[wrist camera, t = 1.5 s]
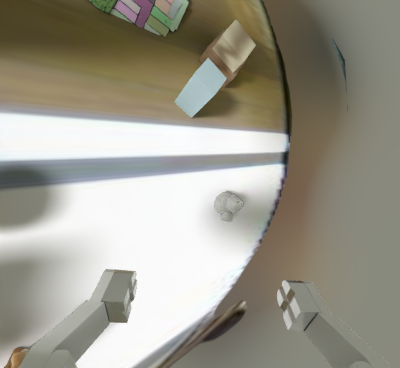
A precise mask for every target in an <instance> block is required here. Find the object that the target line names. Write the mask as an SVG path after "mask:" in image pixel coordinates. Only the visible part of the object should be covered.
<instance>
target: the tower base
mask: <svg viewBox="0 0 400 368" xmlns="http://www.w3.org/2000/svg"><path fill="white" fill-rule="evenodd" d="M255 46H256V45H255V43H254V42H253V41H252V39H251V38H250V37H249V35H248V34H247V33H246V32H245V30H244V29H243V28H242V26H241V25H240V24H239V22H238V21H237V20H235V21H234V22H233V23H232V24H231V25H230V27H229V28H228V29H227V30H225V28H224V29H223V30H222V32H221V33H220V34H219V35H218V36H217V37H216V38H215V39H214V40H213V41H212V43H211V44H210V45H209V46H208V47H207V48H206V50H205V51H204V53H203V54H202V56H201V57H200V59H199V61H200V62H201V63H202V64H203V63H204V62H205V61H206V59H207V58H209V59H210V60H211V61H212V62H213V63H214V65H215V66H216V67H217V68H218V69H219V70H220V71H221V73H222V74H223V75H224V76H225V77H226V78H227V79H226V81H225V82H224V83H223V85H222V86H223V87H224V88H225V87H226V86H227V85H228V84H229V83H230V82H231V81H232V80H233V79H234V78H235V76H236V75H237V74H238V72H239V71H240V69H241V68H242V67H243V65H244V64H245V63H246V61H247V60H248V55H249V54H250V53H251V51H252V50H253V49H254V47H255Z"/></svg>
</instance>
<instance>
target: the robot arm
mask: <svg viewBox="0 0 400 368" xmlns="http://www.w3.org/2000/svg"><path fill="white" fill-rule="evenodd" d="M135 278H136V271H127V270H114V269H106V270H105V271H104V272H103V274H102V276H101V279H100V281H99V283H98V285H97V287H96V289H95V291H94V293H93V295H92V297H91V299H90V301H86V302H84V303H83V304H82V305H81V306H80V307H78V308H77V309H76V310H75V311H74V312H72V313H71V314H70V315H69V316H68V317H67V318H65V319H64V320H63V321H62V322H61V323H59V324H58V325H57V326H56V327H55V328H53V329H52V330H51V331H50V332H49V333H47V334H46V335H45V336H44V337H43V338H41V339H40V340H39V341H38V342H37V343H35V344H34V345H33V346H32V347H31V348H30V350H29V351H28V353H27V355H26V356H25V358H24V359H23V361H22V362H21V364H20V366H19V367H18V368H78V367H77V365H76V364H75V363H76V362H77V361H78V360H79V358H80V357H81V356H82V355H83V354H84V353H85V351H86V350H87V349H88V348H89V347H90V346H91V344H92V343H93V342H94V341H95V340H96V339H97V338H98V336H99V335H100V334H101V333H102V332H103V331H104V329H105V328H106V327H107V326H108V325H109V322H113V323H127V321H128V318H129V314H130V311H131V302H132V301H133V300H134V297H135V294H136V289H137V280H136V279H135ZM282 286H283V287H281V288H280V289H279V290H278V292H277V299H278V303H279V306H280V308H281V309H282V310H283V311H284V314H283V317H284V320H285V323H286V326H287V329H288V330H292V331H304V333H305V334H306V336H307V337H308V338H309V339H310V341H311V342H312V343H313V344H314V345H315V347H316V348H317V349H318V350H319V352H320V353H321V354H322V355H323V357H324V358H325V359H326V360H327V362H328V363H329V364H330V365H331V366H332V368H392V367H391V366H390V364H389V363H388V362H387V360H385V359H384V358H383V357H382V356H381V355H380V354H378V353H377V352H376V351H375V350H374V349H373V348H372V347H370V346H369V345H368V344H367V343H366V342H365V341H364V340H363V339H362V338H360V337H359V336H358V335H357V334H356V333H355V332H354V331H353V330H351V329H350V328H349V327H348V326H347V325H346V324H345V323H343V322H342V321H341V320H340V319H339V318H338V317H337V316H336V315H334V314H331V313H330V311H329V309H328V308H327V306H326V304H325V302H324V301H323V299H322V297H321V295H320V294H319V292H318V290H317V289H316V287H315V285H314V284H313V283H312V282H307V281H292V280H284V281H283V282H282Z"/></svg>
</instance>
